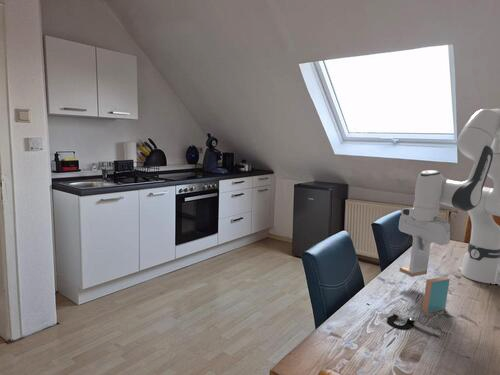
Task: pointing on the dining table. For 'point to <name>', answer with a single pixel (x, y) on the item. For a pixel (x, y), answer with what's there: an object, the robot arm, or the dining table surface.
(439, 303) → the tile
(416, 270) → the bookend
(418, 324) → the micrometer
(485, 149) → the robot arm
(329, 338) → the dining table surface
